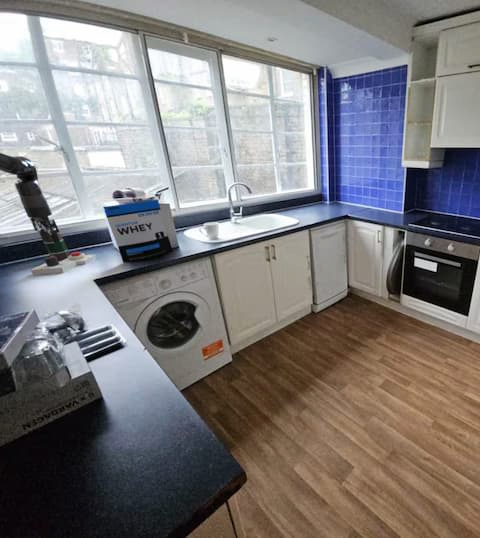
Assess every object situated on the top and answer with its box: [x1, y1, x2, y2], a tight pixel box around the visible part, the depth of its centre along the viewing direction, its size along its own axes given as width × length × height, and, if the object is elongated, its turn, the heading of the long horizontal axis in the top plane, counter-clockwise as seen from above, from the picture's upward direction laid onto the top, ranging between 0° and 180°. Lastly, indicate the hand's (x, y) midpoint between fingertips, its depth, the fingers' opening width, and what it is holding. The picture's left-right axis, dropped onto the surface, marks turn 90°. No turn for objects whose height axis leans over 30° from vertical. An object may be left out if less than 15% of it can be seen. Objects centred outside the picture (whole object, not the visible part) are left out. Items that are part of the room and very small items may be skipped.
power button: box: [70, 251, 81, 257], centre depth 158 cm, size 4×4×2 cm
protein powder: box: [102, 199, 173, 264], centre depth 160 cm, size 10×24×30 cm, turn 140°
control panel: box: [30, 260, 78, 276], centre depth 149 cm, size 13×10×3 cm
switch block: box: [60, 252, 98, 266], centre depth 159 cm, size 12×10×4 cm
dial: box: [43, 256, 60, 267], centre depth 148 cm, size 4×4×4 cm
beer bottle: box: [42, 231, 71, 262], centre depth 160 cm, size 8×8×24 cm
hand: (51, 241), depth 134 cm, fingers open, 8 cm apart
